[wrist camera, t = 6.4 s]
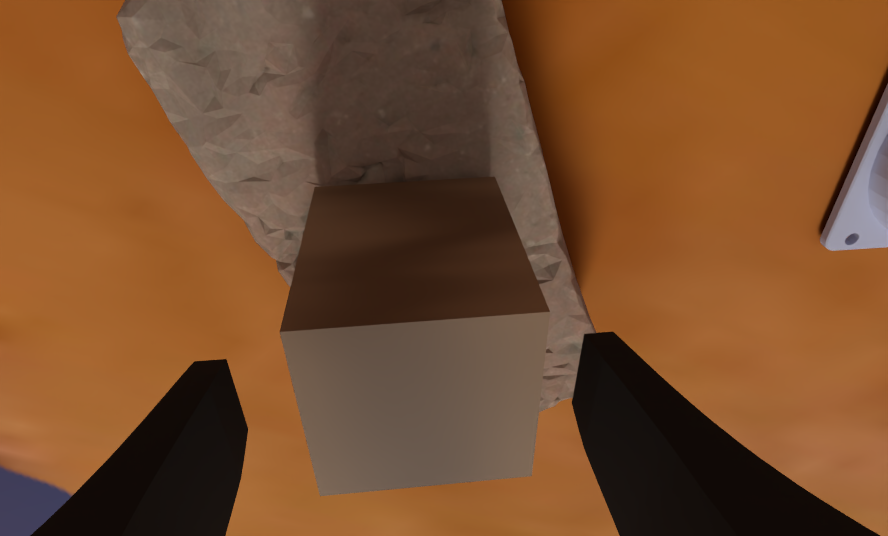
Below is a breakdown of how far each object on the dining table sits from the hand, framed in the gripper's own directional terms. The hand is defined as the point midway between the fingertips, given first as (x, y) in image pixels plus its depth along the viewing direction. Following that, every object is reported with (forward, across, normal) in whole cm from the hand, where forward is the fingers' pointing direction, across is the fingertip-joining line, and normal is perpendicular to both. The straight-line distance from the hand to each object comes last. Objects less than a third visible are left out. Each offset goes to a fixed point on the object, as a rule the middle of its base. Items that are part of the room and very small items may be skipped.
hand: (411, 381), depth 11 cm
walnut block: (+4, 0, 0) cm, 5 cm away
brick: (+9, 0, 0) cm, 9 cm away
